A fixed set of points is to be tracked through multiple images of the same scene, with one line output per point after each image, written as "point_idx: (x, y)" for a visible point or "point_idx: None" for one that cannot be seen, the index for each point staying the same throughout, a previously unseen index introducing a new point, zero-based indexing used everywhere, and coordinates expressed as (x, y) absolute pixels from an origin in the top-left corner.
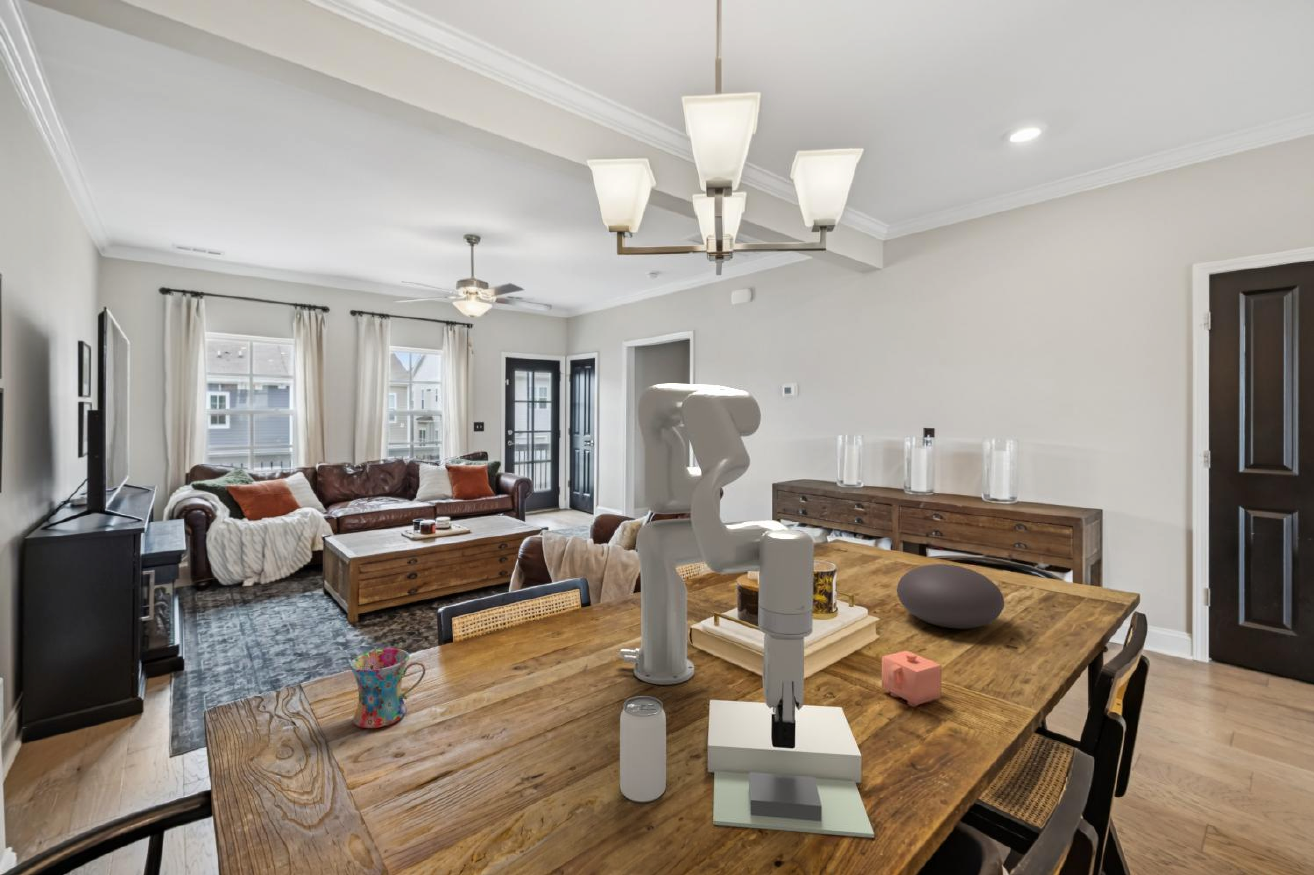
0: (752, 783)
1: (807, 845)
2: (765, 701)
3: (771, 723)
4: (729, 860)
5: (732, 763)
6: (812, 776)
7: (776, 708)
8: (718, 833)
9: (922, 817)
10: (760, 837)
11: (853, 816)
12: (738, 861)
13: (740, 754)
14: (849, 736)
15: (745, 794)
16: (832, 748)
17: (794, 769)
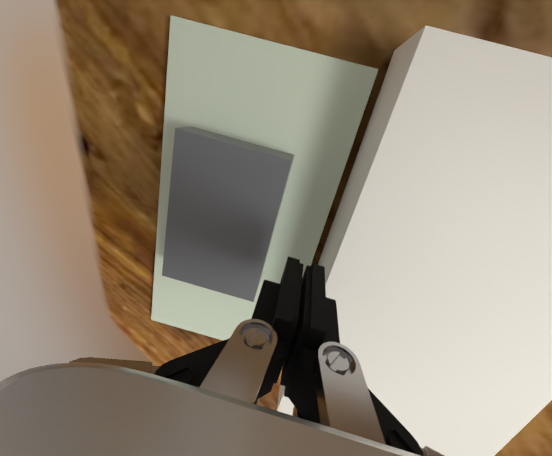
0: (241, 154)
1: (130, 212)
2: (139, 380)
3: (325, 301)
4: (71, 37)
5: (372, 129)
6: None
7: (202, 384)
8: (147, 27)
9: None
10: (142, 130)
11: (189, 312)
12: (72, 58)
13: (368, 157)
14: None
15: (264, 135)
16: None
17: None
